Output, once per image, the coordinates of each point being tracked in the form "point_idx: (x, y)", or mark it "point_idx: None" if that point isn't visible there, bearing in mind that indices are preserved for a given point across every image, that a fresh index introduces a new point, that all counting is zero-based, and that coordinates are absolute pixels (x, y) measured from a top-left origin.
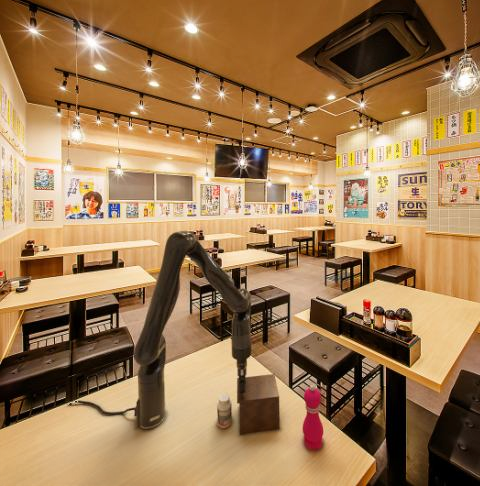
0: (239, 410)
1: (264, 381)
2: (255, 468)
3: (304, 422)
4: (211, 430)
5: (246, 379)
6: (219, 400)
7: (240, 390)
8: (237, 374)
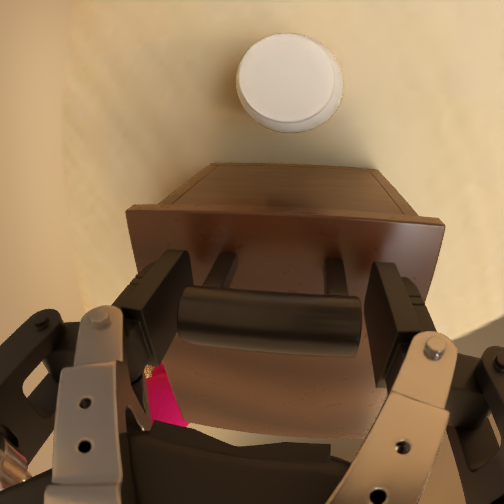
0: (161, 201)
1: (317, 402)
2: (94, 218)
3: (156, 404)
4: (253, 29)
5: None
6: (259, 40)
7: (136, 275)
8: (61, 381)
